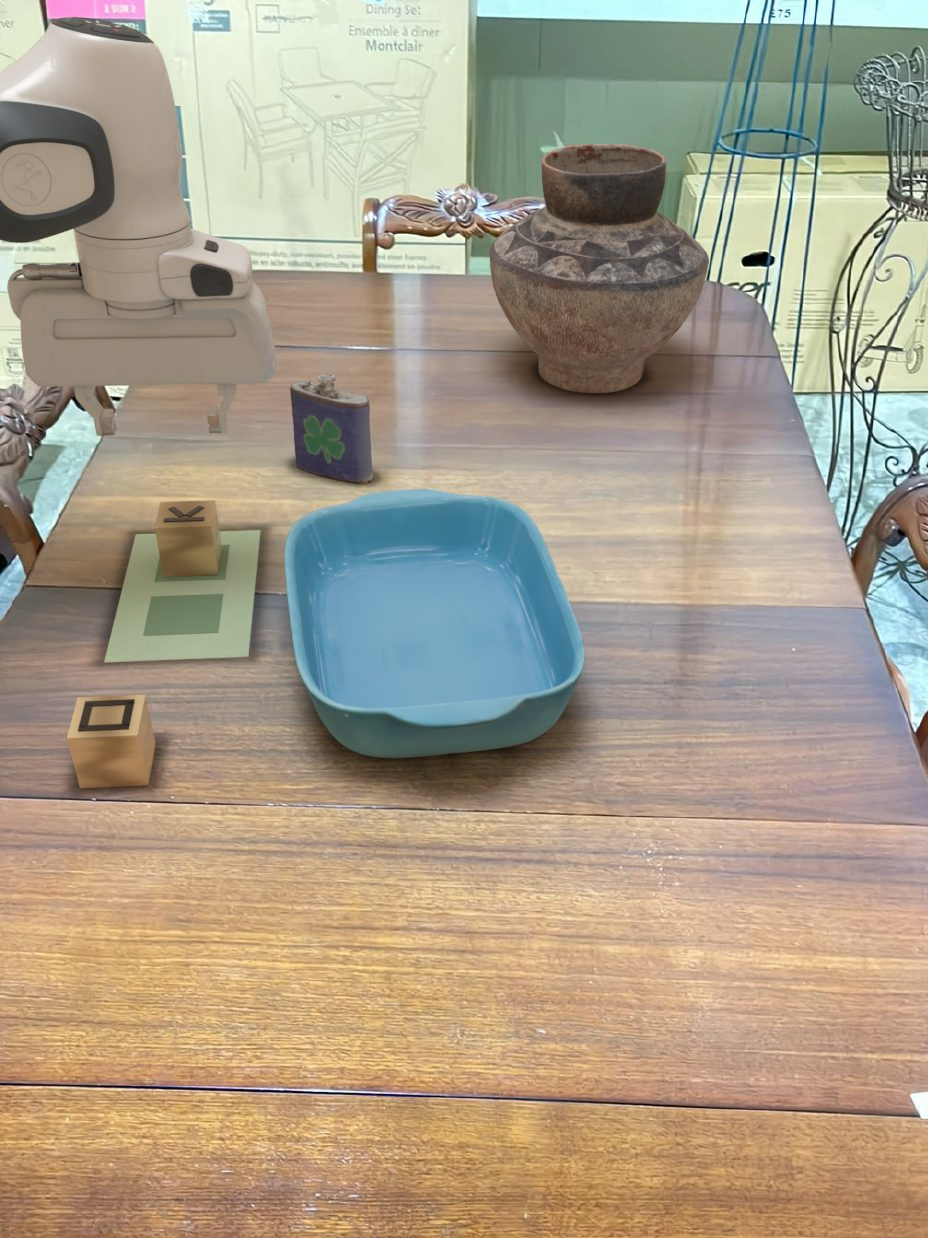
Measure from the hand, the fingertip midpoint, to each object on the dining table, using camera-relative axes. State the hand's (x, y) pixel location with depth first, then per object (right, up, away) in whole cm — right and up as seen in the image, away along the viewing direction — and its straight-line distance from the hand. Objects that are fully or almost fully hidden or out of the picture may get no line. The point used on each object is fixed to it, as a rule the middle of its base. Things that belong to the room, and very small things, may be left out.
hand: (163, 432), depth 107 cm
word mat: (+1, -13, +6) cm, 14 cm away
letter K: (+1, -9, +10) cm, 13 cm away
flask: (+12, +3, +24) cm, 27 cm away
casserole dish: (+23, -20, -1) cm, 30 cm away
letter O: (0, -29, -13) cm, 32 cm away
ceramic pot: (+41, +21, +45) cm, 64 cm away
